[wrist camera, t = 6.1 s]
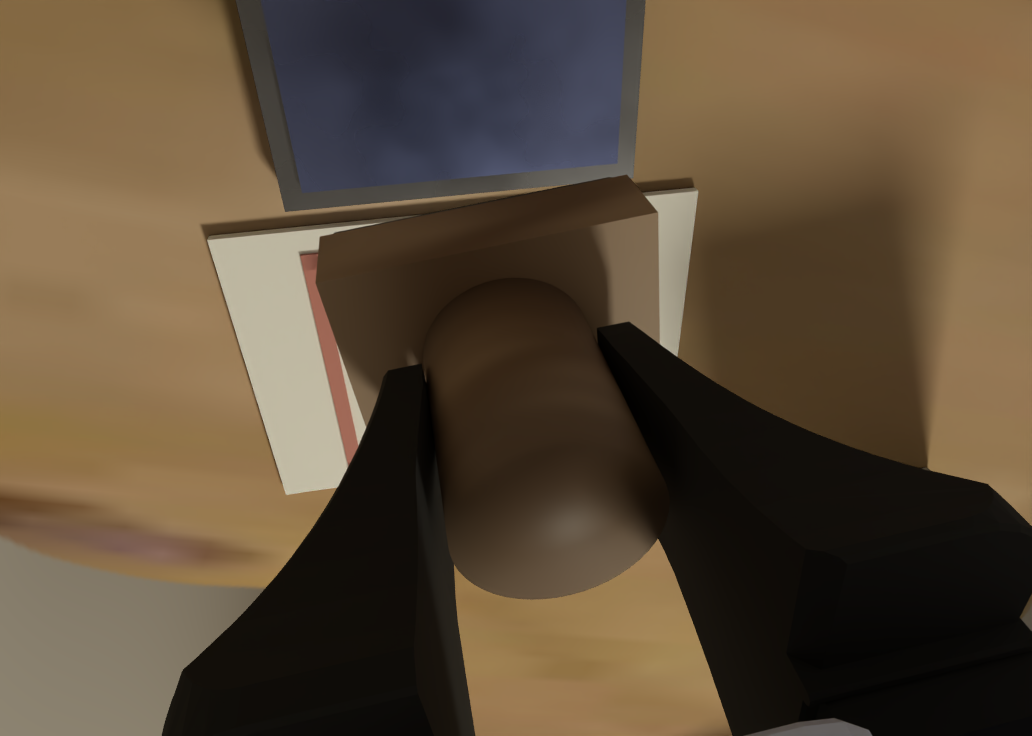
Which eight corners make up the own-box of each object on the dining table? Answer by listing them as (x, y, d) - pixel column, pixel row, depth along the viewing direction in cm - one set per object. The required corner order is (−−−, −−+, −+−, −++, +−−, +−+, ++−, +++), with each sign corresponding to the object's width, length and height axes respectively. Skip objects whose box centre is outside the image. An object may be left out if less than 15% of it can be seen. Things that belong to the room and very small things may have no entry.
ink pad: (634, -63, 18) (653, -57, 17) (621, 164, 22) (636, 182, 21) (234, -42, 17) (225, -34, 16) (288, 195, 21) (284, 215, 20)
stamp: (619, 165, 14) (776, 356, 9) (628, 346, 17) (752, 575, 12) (320, 225, 14) (299, 461, 9) (378, 401, 17) (388, 663, 11)
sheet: (694, 187, 23) (699, 192, 23) (664, 434, 29) (667, 441, 29) (208, 235, 21) (206, 241, 21) (286, 488, 27) (285, 496, 27)
